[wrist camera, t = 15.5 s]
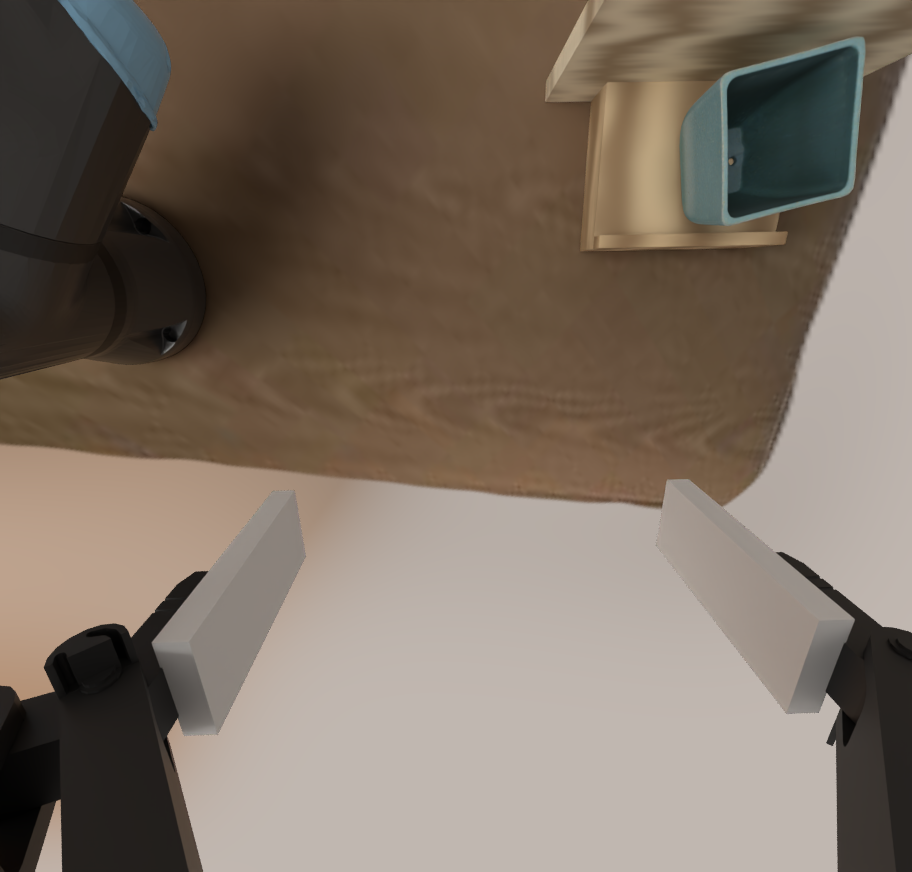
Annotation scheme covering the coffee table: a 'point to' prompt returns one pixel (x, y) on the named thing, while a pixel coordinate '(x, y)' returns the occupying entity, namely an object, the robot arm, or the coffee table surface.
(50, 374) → the coffee table surface
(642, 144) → the board
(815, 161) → the flower pot
